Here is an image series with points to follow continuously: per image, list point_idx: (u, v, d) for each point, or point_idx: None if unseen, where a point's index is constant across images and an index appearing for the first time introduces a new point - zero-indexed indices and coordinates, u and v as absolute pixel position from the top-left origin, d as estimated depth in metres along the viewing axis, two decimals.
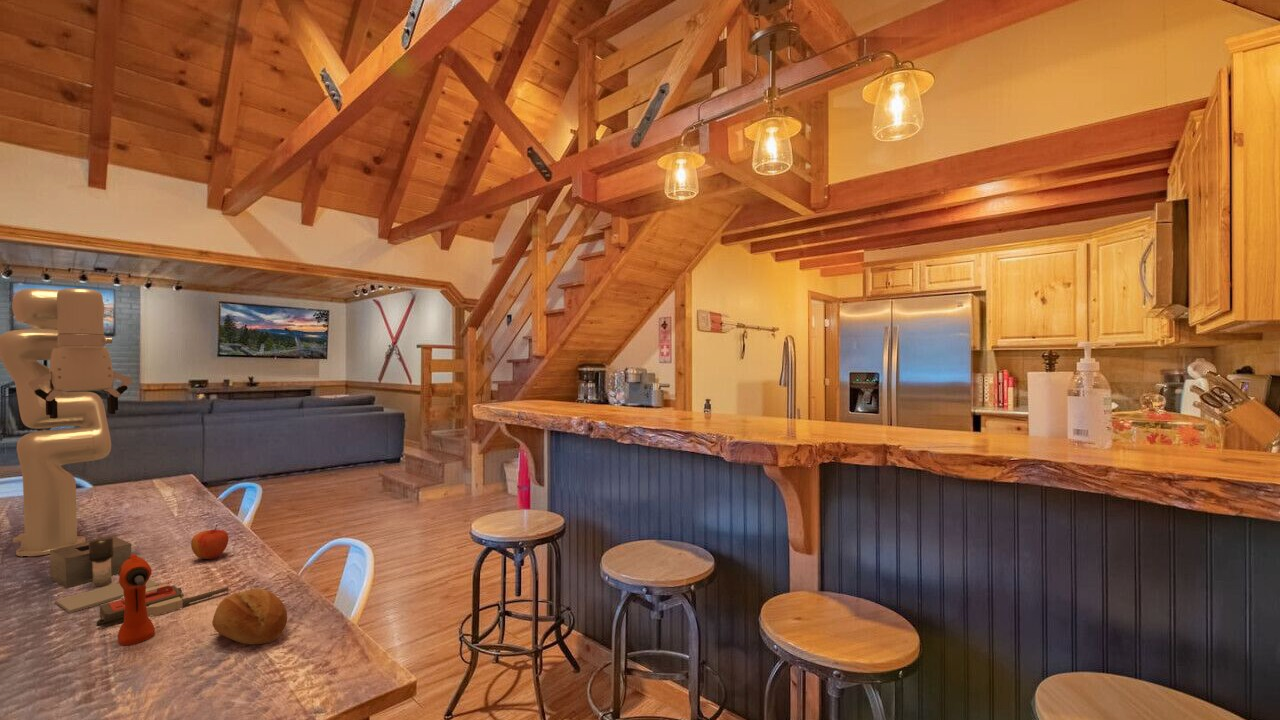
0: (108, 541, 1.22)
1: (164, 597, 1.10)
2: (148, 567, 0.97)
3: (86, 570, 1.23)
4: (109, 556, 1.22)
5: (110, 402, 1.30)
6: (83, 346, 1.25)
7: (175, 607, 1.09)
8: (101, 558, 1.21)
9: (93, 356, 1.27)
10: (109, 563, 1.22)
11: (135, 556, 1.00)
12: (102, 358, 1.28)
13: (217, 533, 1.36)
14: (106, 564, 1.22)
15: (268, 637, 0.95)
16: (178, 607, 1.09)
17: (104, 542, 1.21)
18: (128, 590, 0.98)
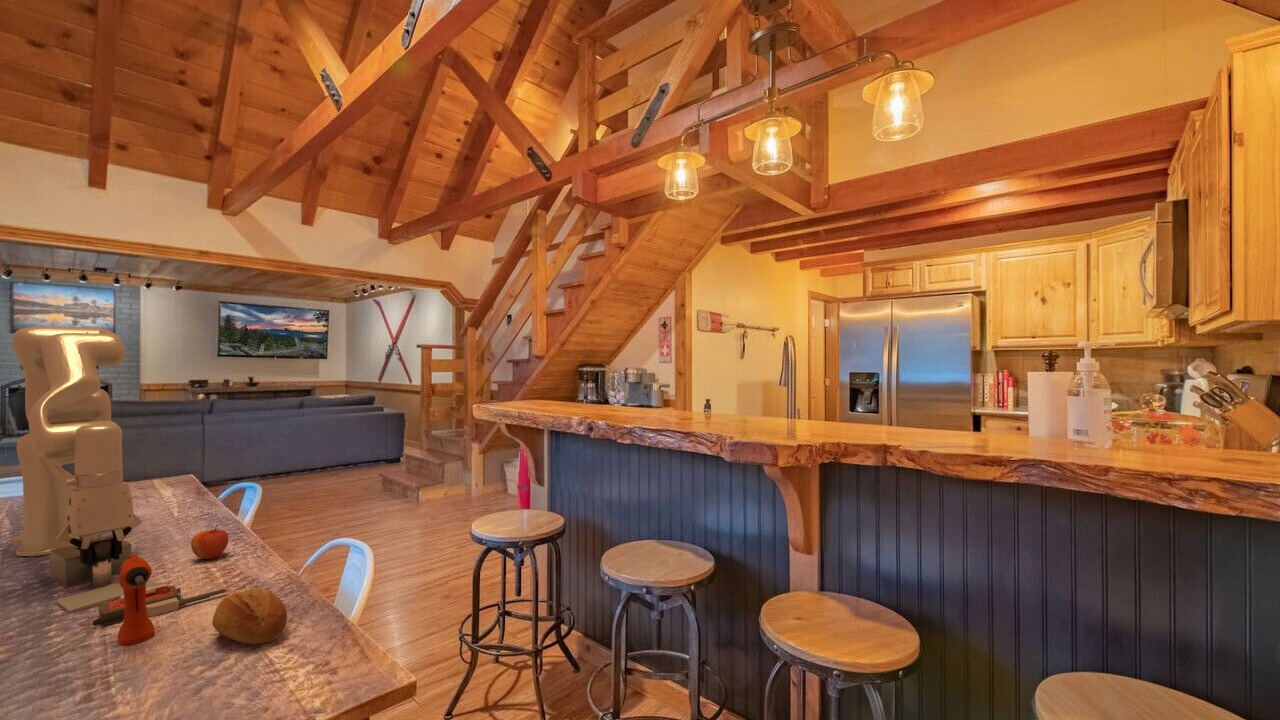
0: (108, 541, 1.22)
1: (161, 597, 1.09)
2: (148, 567, 0.97)
3: (86, 570, 1.23)
4: (109, 556, 1.22)
5: None
6: None
7: (171, 608, 1.09)
8: (101, 558, 1.21)
9: None
10: (109, 563, 1.22)
11: (135, 556, 1.00)
12: None
13: (217, 533, 1.37)
14: (106, 564, 1.22)
15: (268, 637, 0.95)
16: (174, 608, 1.09)
17: (104, 542, 1.21)
18: (128, 590, 0.98)
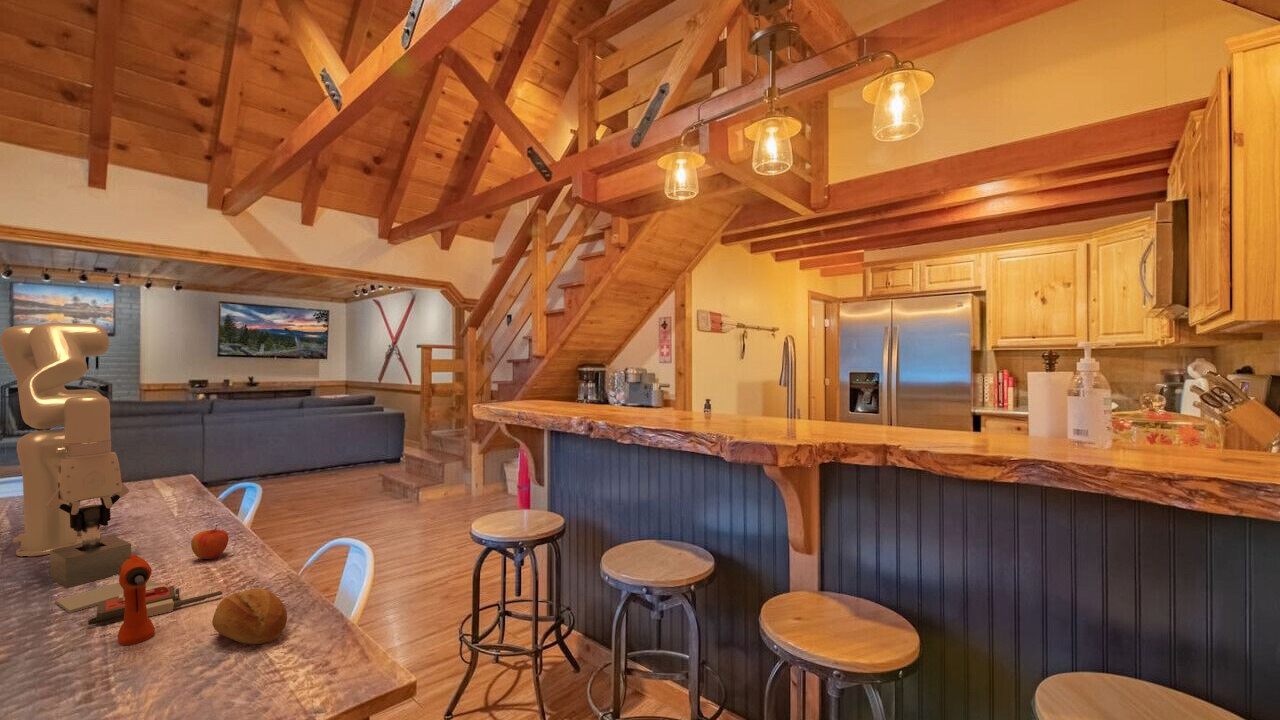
0: (97, 507, 1.27)
1: (157, 598, 1.09)
2: (148, 567, 0.97)
3: (86, 570, 1.23)
4: (98, 522, 1.27)
5: None
6: None
7: (165, 609, 1.08)
8: (90, 523, 1.26)
9: None
10: (98, 529, 1.28)
11: (135, 556, 1.00)
12: None
13: (217, 533, 1.36)
14: (95, 529, 1.27)
15: (268, 637, 0.95)
16: (168, 609, 1.08)
17: (93, 508, 1.27)
18: (128, 590, 0.98)
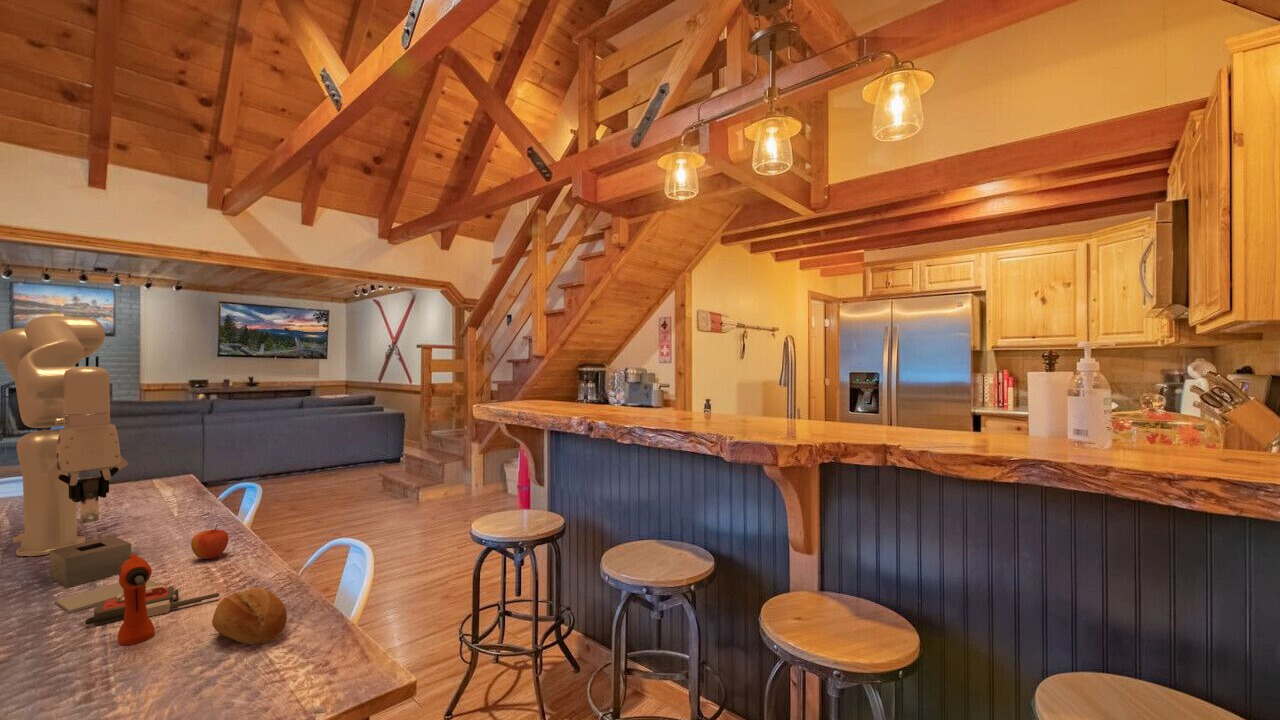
0: (96, 479, 1.27)
1: (154, 599, 1.09)
2: (148, 567, 0.97)
3: (86, 570, 1.23)
4: (96, 494, 1.28)
5: None
6: None
7: (161, 611, 1.08)
8: (89, 495, 1.26)
9: None
10: (96, 500, 1.28)
11: (135, 556, 1.00)
12: None
13: (217, 533, 1.36)
14: (94, 501, 1.27)
15: (268, 637, 0.95)
16: (164, 611, 1.08)
17: (92, 480, 1.27)
18: (128, 590, 0.98)
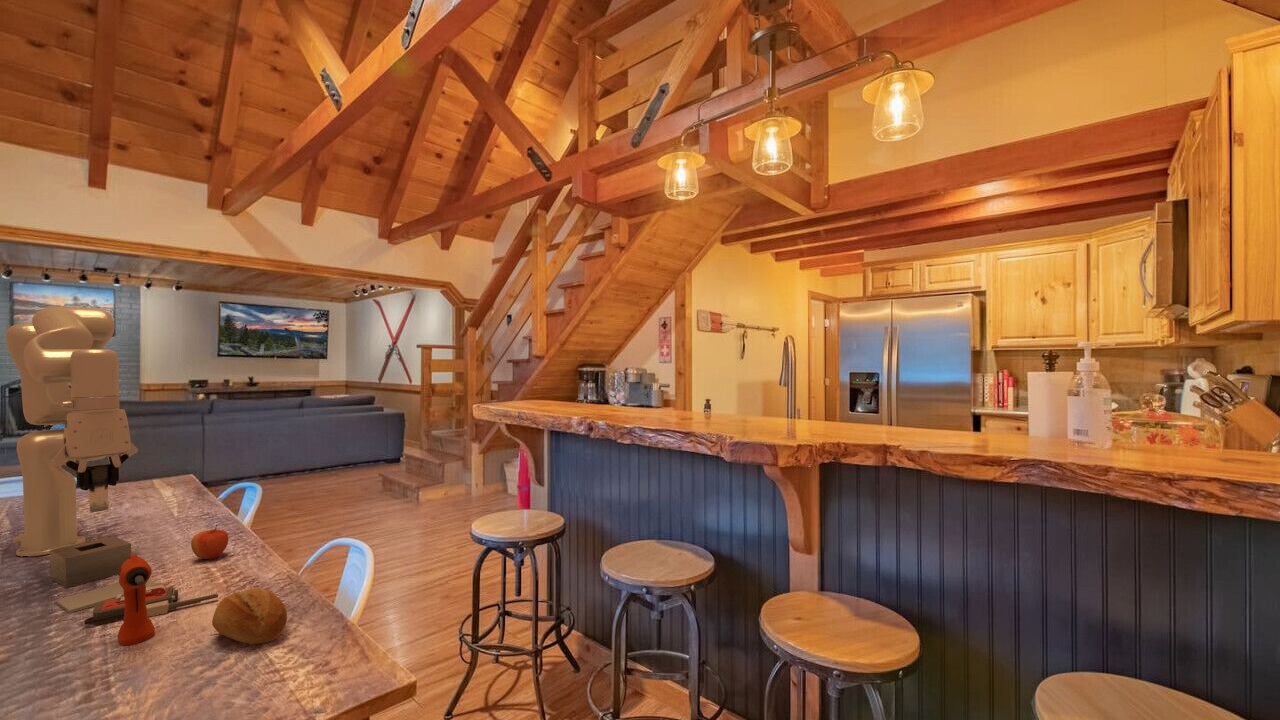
0: (105, 466, 1.21)
1: (153, 599, 1.09)
2: (148, 567, 0.97)
3: (86, 570, 1.23)
4: (106, 481, 1.21)
5: None
6: None
7: (160, 611, 1.07)
8: (98, 482, 1.20)
9: None
10: (106, 488, 1.22)
11: (135, 556, 1.00)
12: None
13: (217, 533, 1.36)
14: (103, 489, 1.21)
15: (268, 637, 0.95)
16: (163, 611, 1.08)
17: (101, 466, 1.20)
18: (128, 590, 0.98)
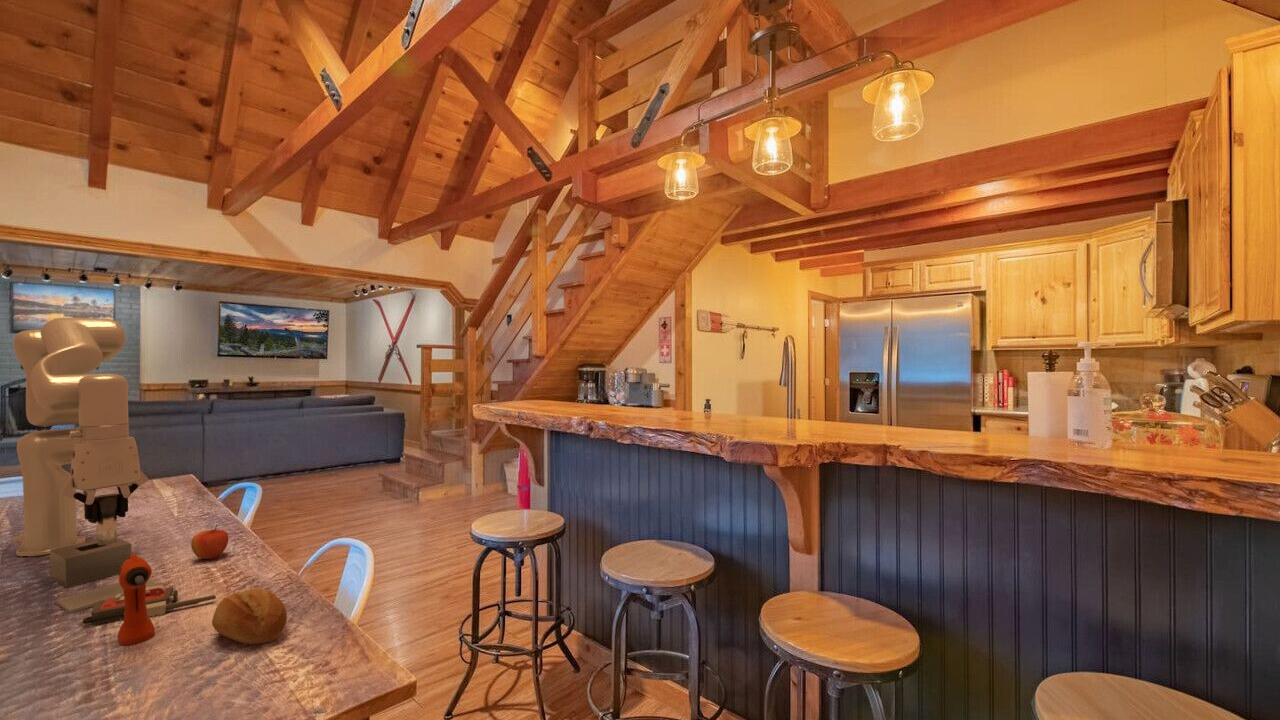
0: (114, 497, 1.16)
1: (151, 600, 1.08)
2: (148, 567, 0.97)
3: (86, 570, 1.23)
4: (115, 513, 1.16)
5: None
6: None
7: (157, 612, 1.07)
8: (106, 514, 1.15)
9: None
10: (115, 520, 1.17)
11: (135, 556, 1.00)
12: None
13: (217, 533, 1.36)
14: (112, 521, 1.16)
15: (268, 637, 0.95)
16: (160, 612, 1.07)
17: (110, 498, 1.15)
18: (128, 590, 0.98)
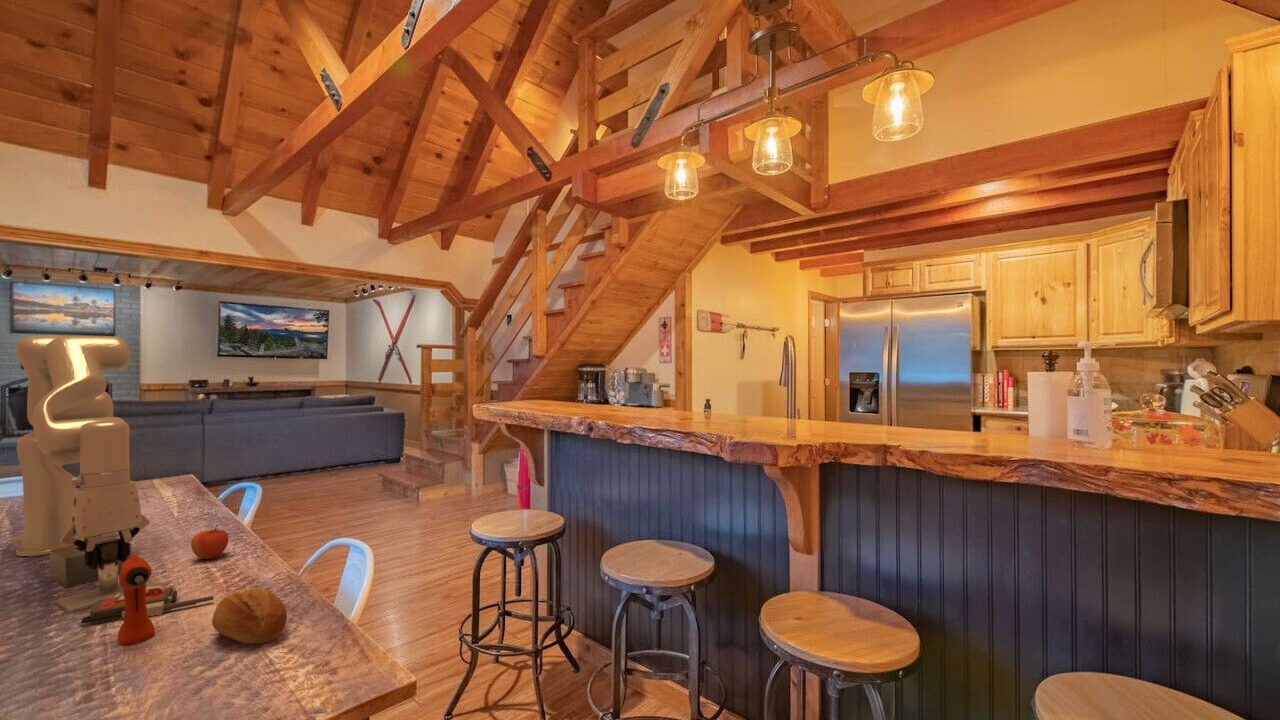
0: (115, 543, 1.16)
1: (149, 600, 1.08)
2: (148, 567, 0.97)
3: (86, 570, 1.23)
4: (116, 558, 1.16)
5: None
6: None
7: (154, 612, 1.07)
8: (107, 560, 1.15)
9: None
10: (116, 566, 1.17)
11: (135, 556, 1.00)
12: None
13: (217, 533, 1.36)
14: (113, 567, 1.16)
15: (268, 637, 0.95)
16: (157, 613, 1.07)
17: (111, 544, 1.16)
18: (128, 590, 0.98)
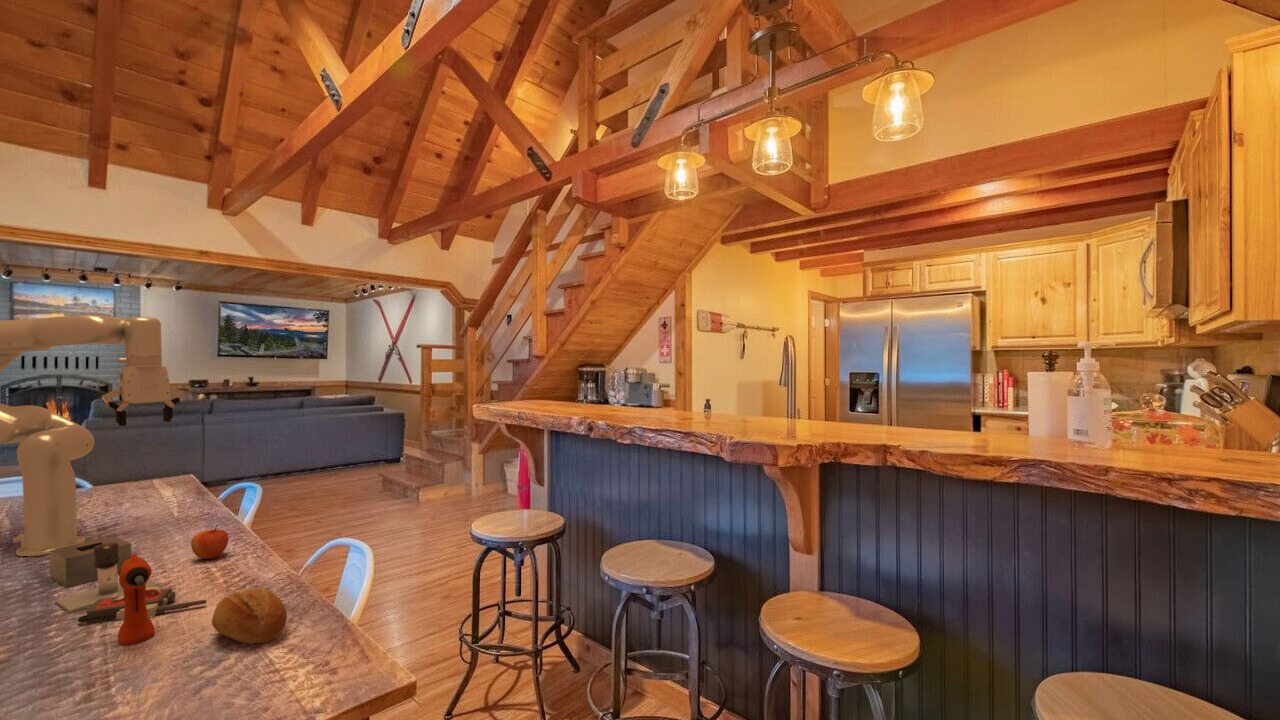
0: (114, 546, 1.16)
1: None
2: (148, 567, 0.97)
3: (86, 570, 1.23)
4: (115, 562, 1.16)
5: None
6: None
7: (147, 614, 1.06)
8: (107, 564, 1.15)
9: None
10: (115, 569, 1.17)
11: (135, 556, 1.00)
12: None
13: (217, 533, 1.36)
14: (112, 570, 1.16)
15: (268, 636, 0.95)
16: (150, 615, 1.06)
17: (109, 548, 1.15)
18: (128, 590, 0.98)
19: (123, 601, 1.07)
